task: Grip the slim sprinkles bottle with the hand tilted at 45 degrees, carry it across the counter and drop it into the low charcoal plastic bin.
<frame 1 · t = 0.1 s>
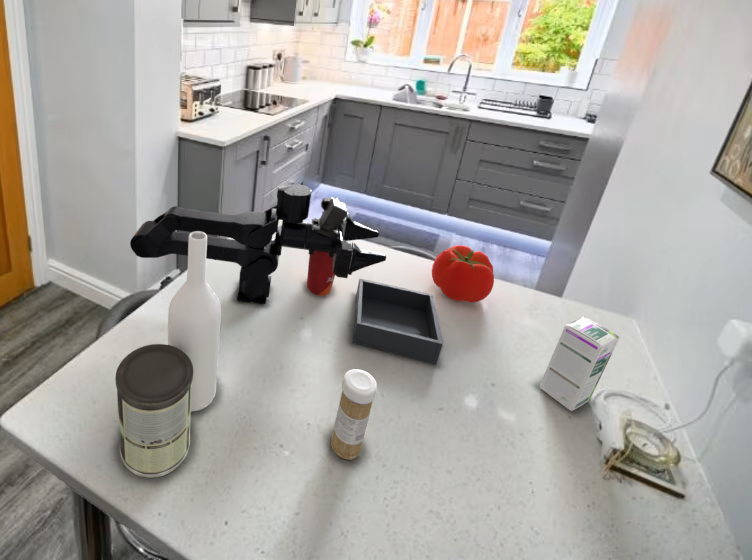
hand: (382, 245, 89), 17 cm above the counter, tool horizontal, fingers open, 9 cm apart
tomato: (456, 293, 104), on the counter
paper cup: (318, 288, 102), on the counter, touching gripper
bottle: (191, 392, 73), on the counter
sprinkles bottle: (344, 447, 66), on the counter
bin: (392, 327, 91), on the counter
syrup box: (562, 394, 78), on the counter
coffee can: (155, 444, 64), on the counter
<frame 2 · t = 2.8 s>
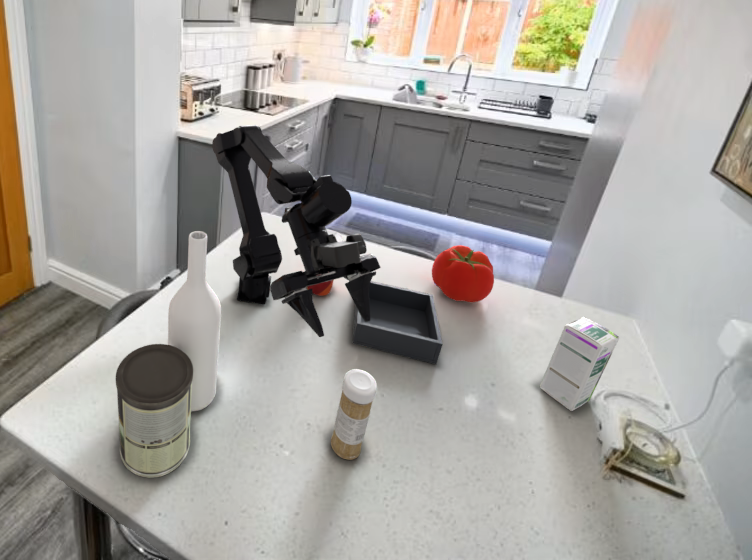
hand: (345, 328, 69), 14 cm above the counter, tool tilted 50°, fingers open, 9 cm apart
paper cup: (318, 288, 102), on the counter
everything else where it was.
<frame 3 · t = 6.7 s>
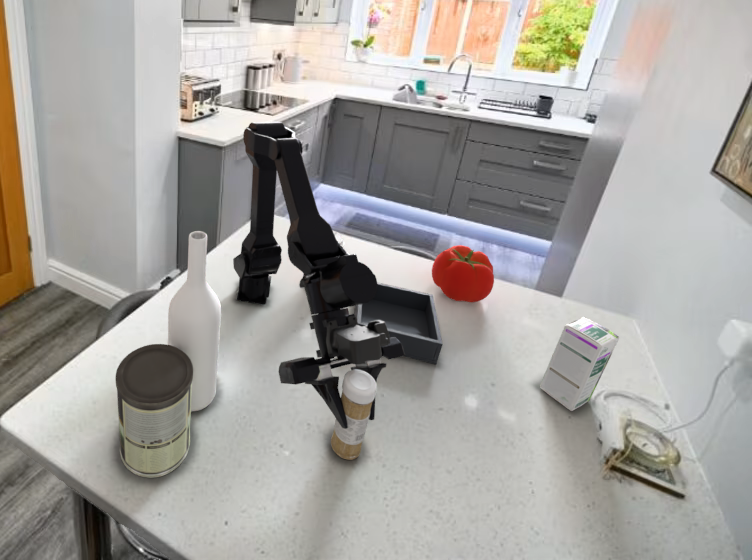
hand: (358, 424, 62), 7 cm above the counter, tool tilted 45°, fingers closed on sprinkles bottle, 4 cm apart
sprinkles bottle: (345, 447, 66), on the counter, touching gripper
everything else where it was.
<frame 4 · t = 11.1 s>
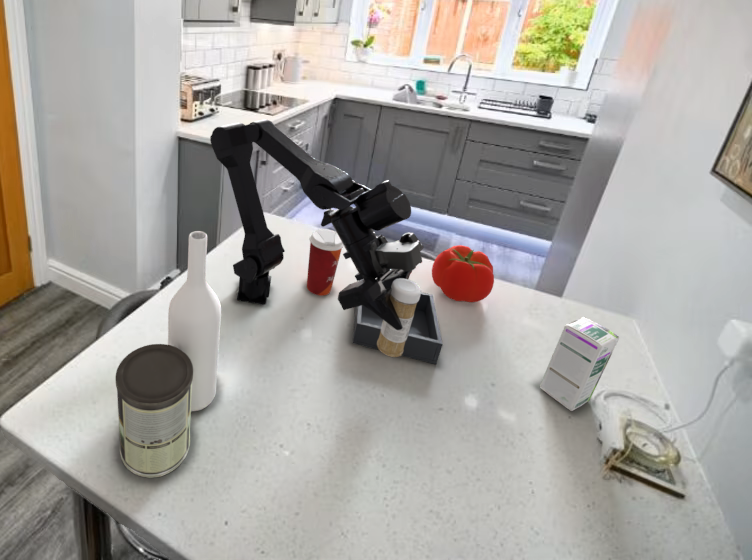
hand: (405, 323, 73), 13 cm above the counter, tool tilted 45°, fingers closed on sprinkles bottle, 4 cm apart
sprinkles bottle: (389, 349, 76), point 6 cm above the counter, touching gripper
everything else where it was.
when the fingers open (7 cm above the counter, at t = 15.9 s): sprinkles bottle stays where it is, resting on bin.
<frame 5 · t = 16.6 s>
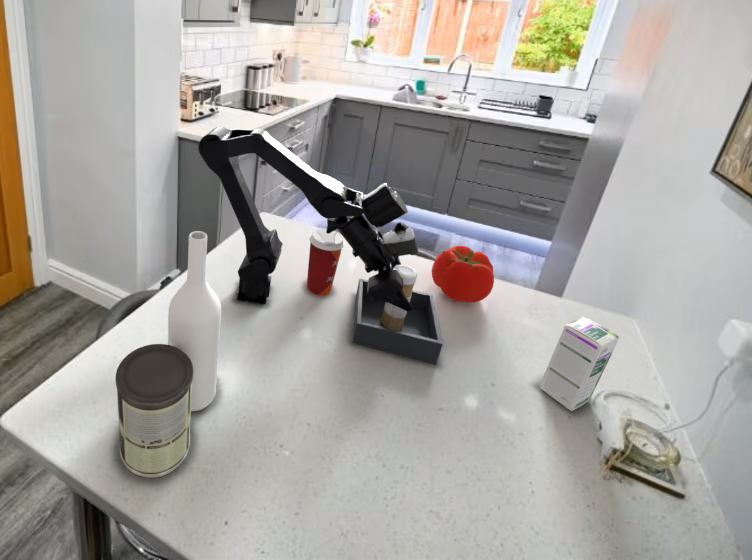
hand: (408, 295, 88), 8 cm above the counter, tool tilted 45°, fingers open, 9 cm apart
sprinkles bottle: (391, 324, 91), point 1 cm above the counter, touching bin
everything else where it was.
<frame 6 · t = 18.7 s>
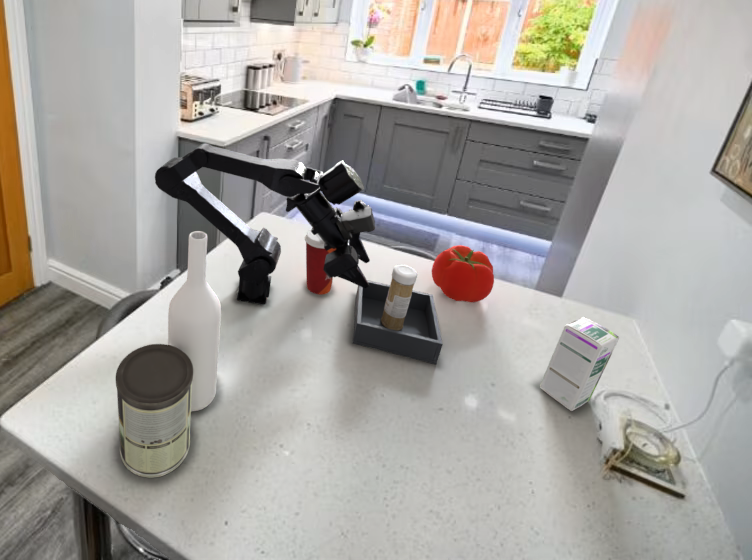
hand: (367, 273, 88), 12 cm above the counter, tool tilted 45°, fingers open, 9 cm apart
paper cup: (318, 287, 102), on the counter, touching gripper
everything else where it was.
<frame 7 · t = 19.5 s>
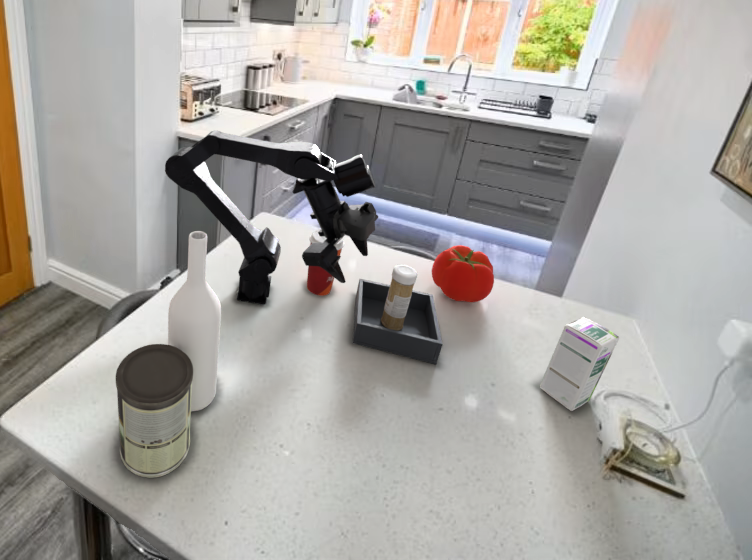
hand: (354, 268, 90), 12 cm above the counter, tool tilted 30°, fingers open, 9 cm apart
paper cup: (318, 288, 102), on the counter
everything else where it was.
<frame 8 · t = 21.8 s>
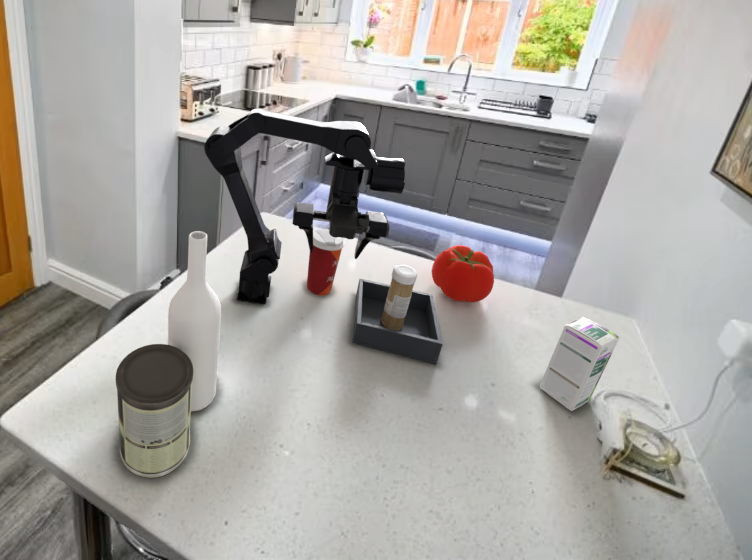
hand: (333, 254, 91), 13 cm above the counter, tool pointing down, fingers open, 9 cm apart
nothing on the counter moved.
at the end: sprinkles bottle inside the target area in the bin (0.2 cm from its centre), point 0.6 cm above the bin's base; the gripper is holding nothing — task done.
